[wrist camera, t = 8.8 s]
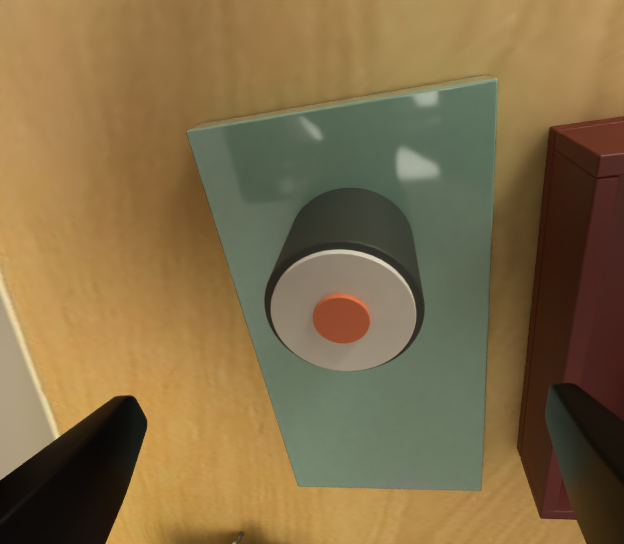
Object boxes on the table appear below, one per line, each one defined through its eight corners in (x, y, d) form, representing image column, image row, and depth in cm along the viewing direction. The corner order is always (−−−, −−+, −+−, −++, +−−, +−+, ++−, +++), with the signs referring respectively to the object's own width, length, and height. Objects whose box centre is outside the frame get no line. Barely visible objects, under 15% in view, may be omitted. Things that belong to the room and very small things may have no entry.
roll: (416, 293, 16) (429, 379, 12) (302, 301, 17) (279, 384, 13) (409, 178, 14) (423, 239, 10) (278, 195, 15) (241, 256, 11)
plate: (477, 470, 23) (482, 491, 22) (300, 468, 25) (297, 487, 24) (489, 73, 13) (499, 78, 12) (197, 124, 15) (184, 131, 14)
